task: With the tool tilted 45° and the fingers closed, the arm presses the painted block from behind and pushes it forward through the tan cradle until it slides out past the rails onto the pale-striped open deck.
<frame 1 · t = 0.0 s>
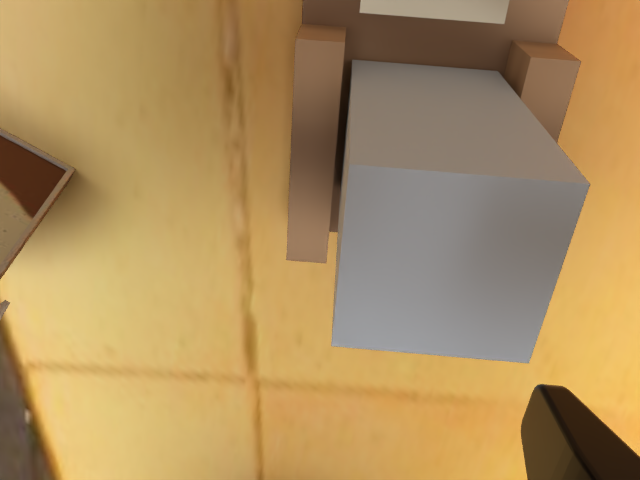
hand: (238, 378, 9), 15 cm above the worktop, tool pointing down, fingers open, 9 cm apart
block: (427, 188, 17), point 6 cm above the worktop, slide at 0.0 cm
tan cradle: (424, 43, 20), on the worktop
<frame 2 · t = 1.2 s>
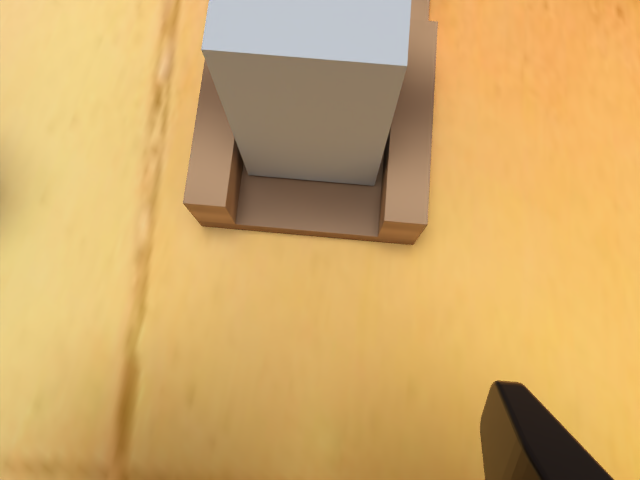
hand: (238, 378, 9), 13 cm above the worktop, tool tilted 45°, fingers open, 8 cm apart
block: (315, 63, 19), point 6 cm above the worktop, slide at 0.0 cm
tan cradle: (323, 68, 25), on the worktop
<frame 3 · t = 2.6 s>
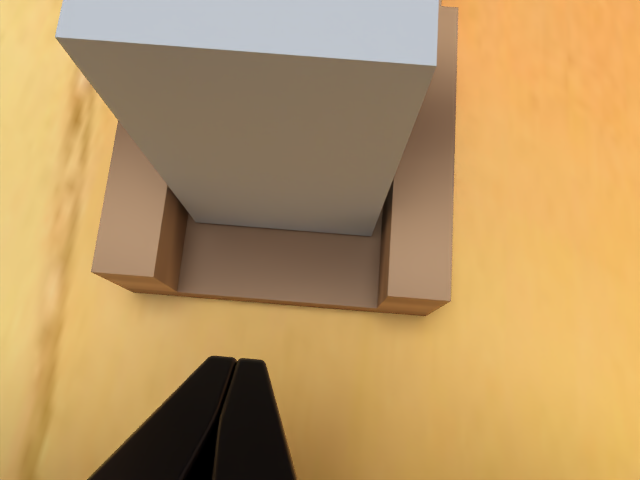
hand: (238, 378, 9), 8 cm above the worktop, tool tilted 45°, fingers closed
block: (282, 65, 12), point 5 cm above the worktop, slide at 0.0 cm
tan cradle: (301, 73, 18), on the worktop
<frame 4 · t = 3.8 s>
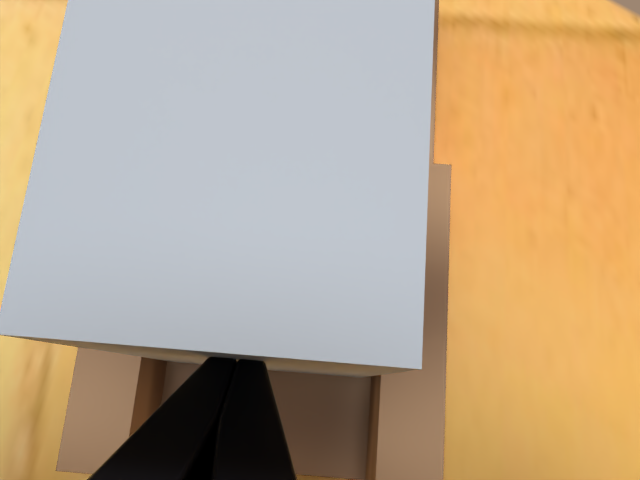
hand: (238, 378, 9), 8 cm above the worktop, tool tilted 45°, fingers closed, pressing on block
block: (263, 239, 12), point 5 cm above the worktop, slide at 0.6 cm, touching gripper
tan cradle: (287, 207, 18), on the worktop
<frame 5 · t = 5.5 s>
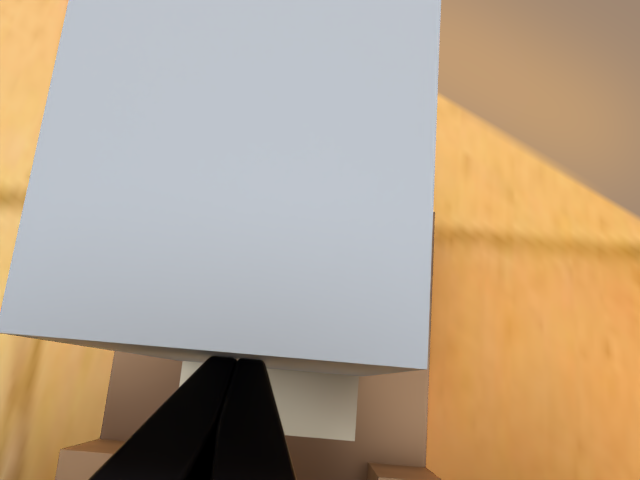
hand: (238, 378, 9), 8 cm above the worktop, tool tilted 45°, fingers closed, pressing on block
block: (266, 237, 12), point 6 cm above the worktop, slide at 8.2 cm, touching gripper
tan cradle: (262, 468, 16), on the worktop
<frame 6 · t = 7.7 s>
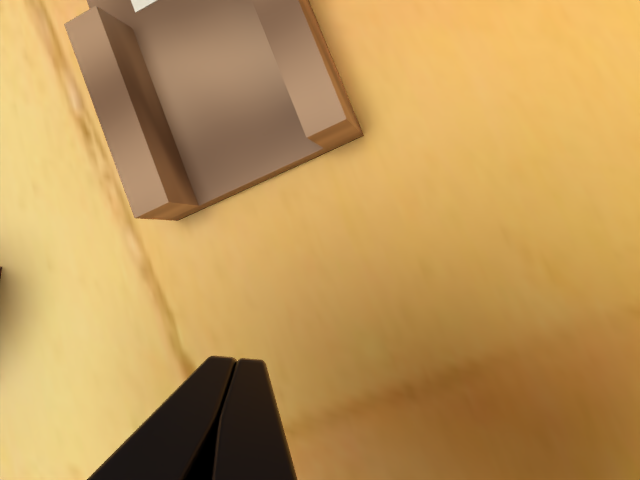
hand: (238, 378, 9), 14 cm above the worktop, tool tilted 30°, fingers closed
tan cradle: (202, 14, 24), on the worktop
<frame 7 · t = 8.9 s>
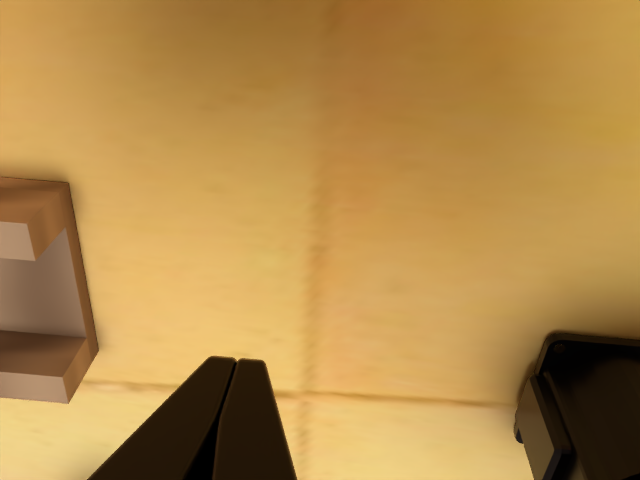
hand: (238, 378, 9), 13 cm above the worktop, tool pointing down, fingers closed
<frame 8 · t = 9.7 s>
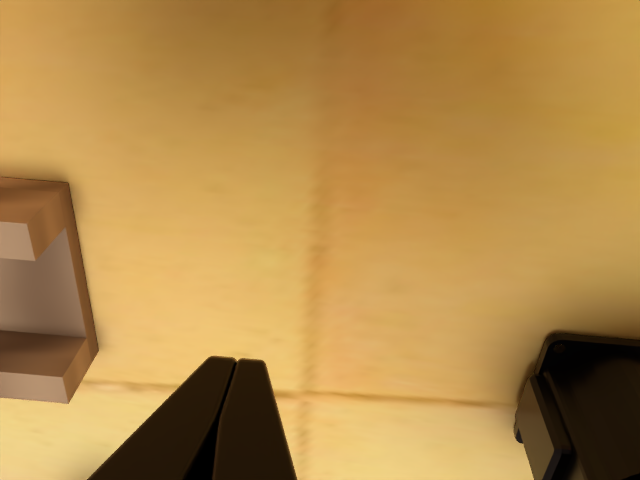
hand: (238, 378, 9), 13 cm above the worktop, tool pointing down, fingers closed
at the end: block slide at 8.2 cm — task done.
